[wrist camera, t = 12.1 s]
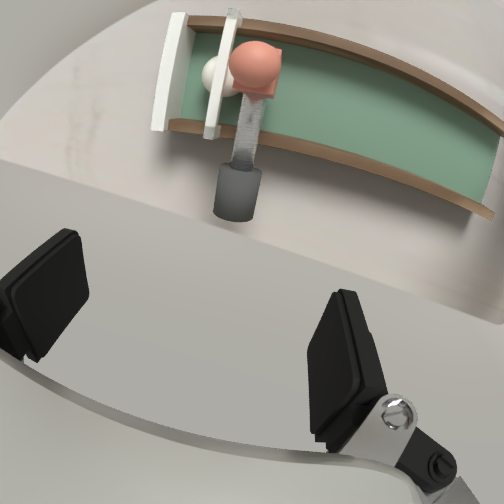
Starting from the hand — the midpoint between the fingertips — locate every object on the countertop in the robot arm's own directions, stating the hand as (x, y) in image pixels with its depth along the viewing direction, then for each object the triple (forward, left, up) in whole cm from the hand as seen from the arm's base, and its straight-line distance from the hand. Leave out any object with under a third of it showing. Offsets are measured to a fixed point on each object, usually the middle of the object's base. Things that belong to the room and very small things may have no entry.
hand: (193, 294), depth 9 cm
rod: (-5, 0, -19) cm, 19 cm away
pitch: (-9, +9, -20) cm, 24 cm away
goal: (-9, -6, -19) cm, 22 cm away
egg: (-9, -4, -17) cm, 20 cm away
